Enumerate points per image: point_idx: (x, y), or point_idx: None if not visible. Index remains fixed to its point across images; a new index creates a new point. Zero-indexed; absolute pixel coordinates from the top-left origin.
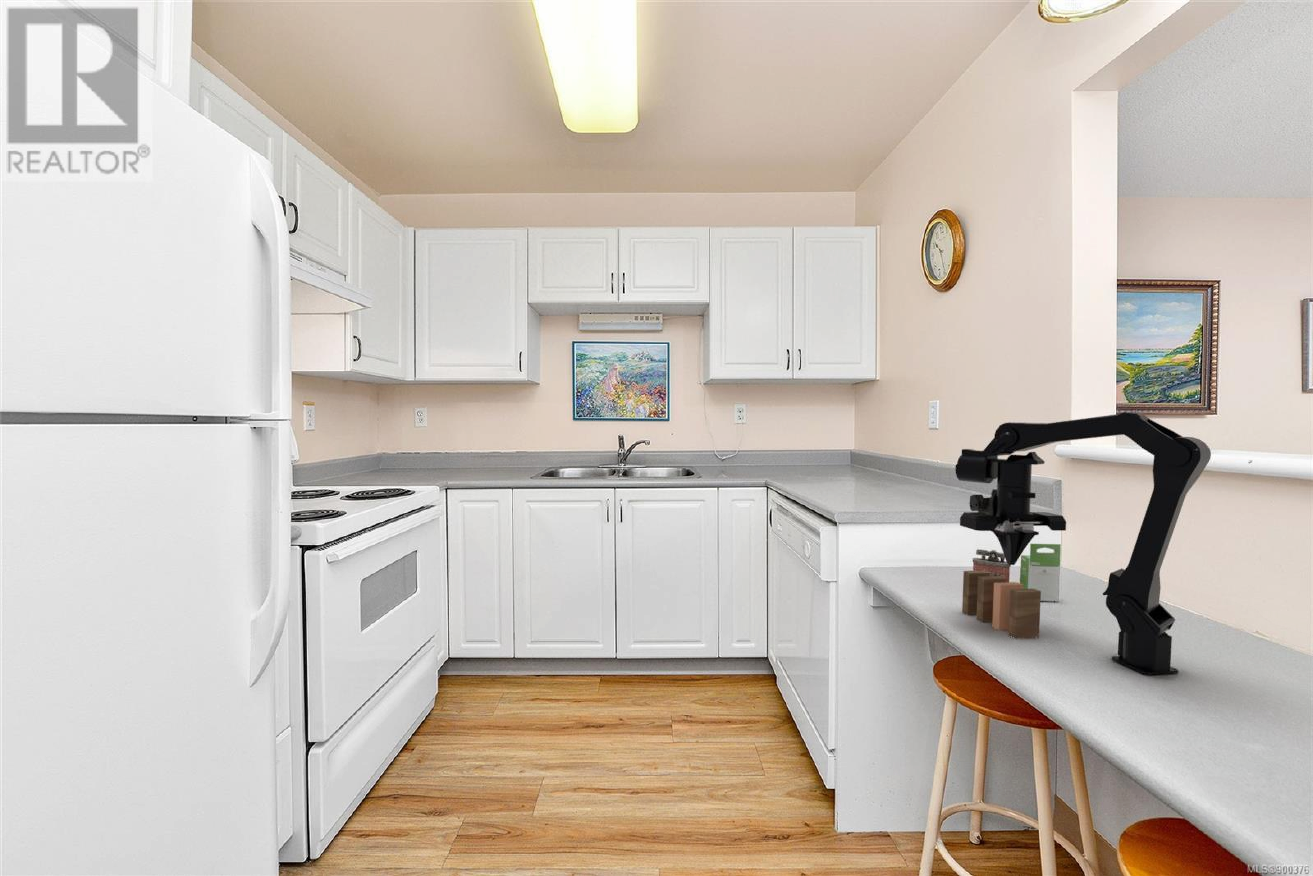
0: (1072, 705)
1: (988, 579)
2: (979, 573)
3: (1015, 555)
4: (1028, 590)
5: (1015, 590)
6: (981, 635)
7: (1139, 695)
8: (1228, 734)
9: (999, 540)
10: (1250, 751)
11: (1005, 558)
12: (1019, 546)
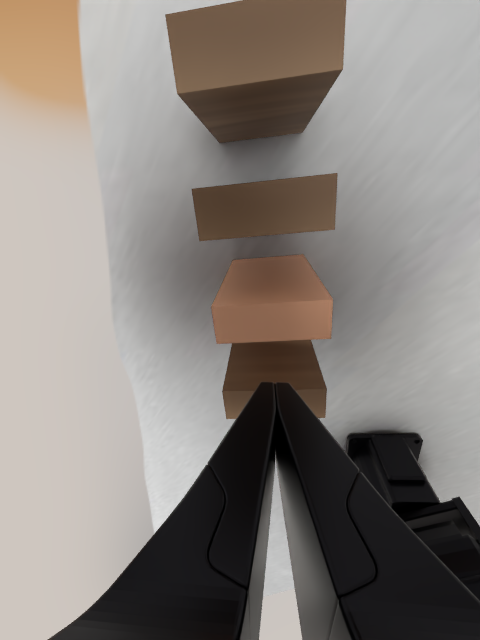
0: (167, 513)
1: (225, 237)
2: (253, 84)
3: (280, 483)
4: None
5: (232, 403)
6: (172, 312)
7: (272, 509)
8: (285, 561)
9: (152, 554)
10: (273, 575)
11: (249, 399)
12: (298, 602)
